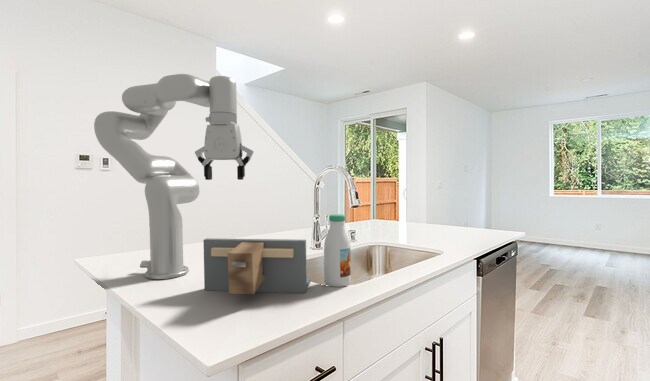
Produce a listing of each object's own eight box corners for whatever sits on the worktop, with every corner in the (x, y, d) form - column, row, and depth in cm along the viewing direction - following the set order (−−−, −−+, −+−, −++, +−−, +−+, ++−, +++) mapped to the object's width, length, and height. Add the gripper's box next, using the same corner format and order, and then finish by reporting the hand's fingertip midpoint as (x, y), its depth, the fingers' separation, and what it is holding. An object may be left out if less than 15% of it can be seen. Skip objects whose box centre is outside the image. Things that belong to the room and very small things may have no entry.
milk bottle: (330, 289, 93) (330, 217, 92) (320, 281, 100) (319, 214, 99) (355, 285, 96) (355, 215, 95) (343, 278, 103) (343, 212, 102)
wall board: (201, 292, 90) (200, 241, 90) (219, 279, 102) (218, 233, 102) (304, 295, 88) (303, 242, 87) (310, 281, 100) (310, 234, 99)
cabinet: (227, 295, 80) (225, 254, 79) (243, 278, 91) (241, 242, 90) (252, 295, 80) (250, 254, 79) (264, 278, 91) (263, 242, 89)
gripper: (188, 119, 95) (190, 179, 96) (248, 118, 93) (249, 179, 94) (201, 123, 103) (202, 179, 103) (256, 122, 101) (257, 179, 102)
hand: (224, 179), depth 99 cm, fingers open, 9 cm apart
